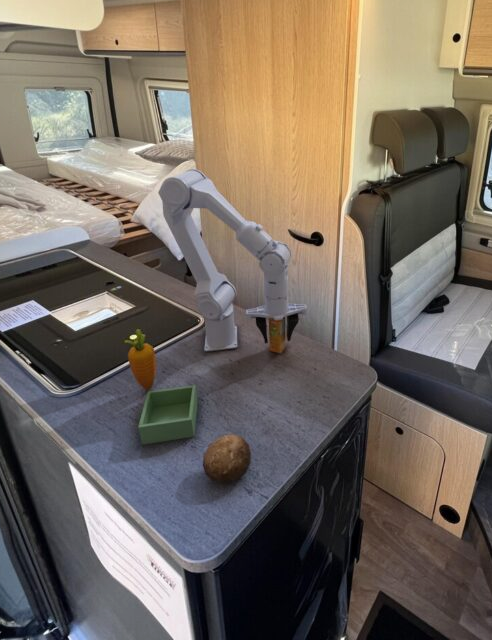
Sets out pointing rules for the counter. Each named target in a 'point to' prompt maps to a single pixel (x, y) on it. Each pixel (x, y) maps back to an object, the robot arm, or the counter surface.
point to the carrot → (142, 361)
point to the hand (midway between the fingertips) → (277, 339)
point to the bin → (168, 415)
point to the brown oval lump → (227, 459)
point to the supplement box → (277, 335)
